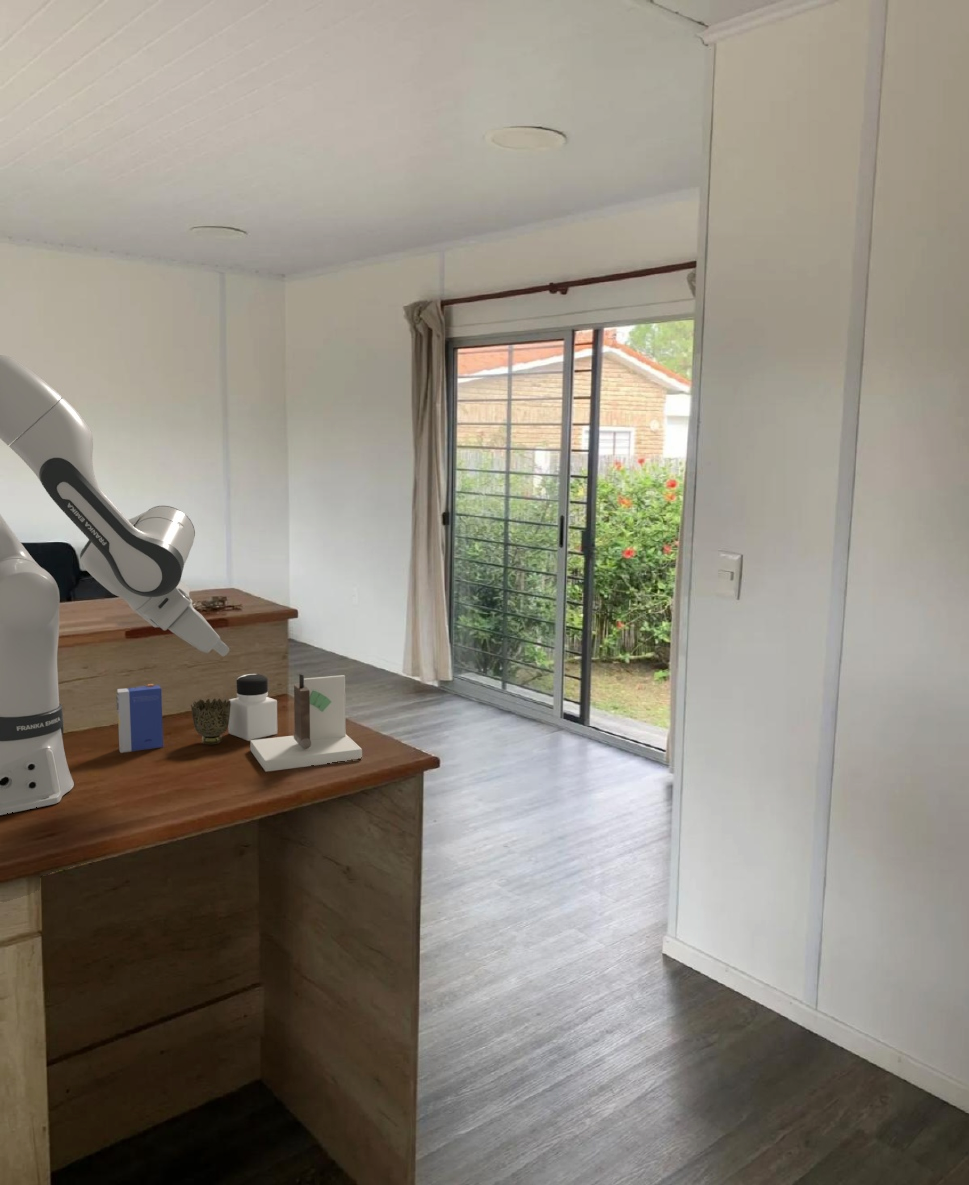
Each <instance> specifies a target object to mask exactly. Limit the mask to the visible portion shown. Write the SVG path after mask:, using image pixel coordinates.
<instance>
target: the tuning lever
mask: <svg viewBox="0 0 969 1185" xmlns="http://www.w3.org/2000/svg"><path fill="white" fill-rule="evenodd" d="M298 677H299V684H294V685H293V693H294V694H293V697H294V698H293V704H294V707H293V708H294V715H293V716H294V733H293V735H294V739H295V740H296V742H297V743H298V744H299V745H300V746H301V747H302V748H303V749H308V748H309V747H310V746H311V741H310V690H309V689H307V688H306V687H305V686H304V679H305V674H304V673H299V674H298Z"/></svg>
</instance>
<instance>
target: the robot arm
mask: <svg viewBox="0 0 969 1185" xmlns="http://www.w3.org/2000/svg"><path fill="white" fill-rule="evenodd" d="M0 440H1V441H3V443H4V444H6V446H8V447H9V449H11V450H12V451H13V452H14V453H15V454H17V456H18V457H19V458H20V459H21V460H22V461H23V462H24V463H25V464H26V465H27V466H28V467H29V469H31V471H32V472H33V473H34V475H35V476H36V477H37V479H38V480H39V481H40V483H41V485H42V487H43V488H44V489H45V491H46V493H47V494H48V495H49V497H50V498H51V500H53V502H54V503H55V504H56V505H57V506H58V508H59V509H61V511H62V512H63V513H64V514H65V515H66V516H67V517H68V518H69V520H70V521H71V522H73V523H72V524H74V525H75V526H76V527H77V528H78V529H79V530H80V531H81V533H83V534H84V536H86V538H87V539H88V540H87V542H86V544H85V545H84V547H83V548H82V549H81V551H80V554H79V557H80V558H79V561H80V563H81V565H82V566H83V568H84V569H85V571H87V573H89V574H90V576H91V577H92V578H94V580H96V581H97V582H98V583H99V584H100V585H101V586H103V587H104V588H105V589H106V590H107V591H108V592H109V593H111V594H112V595H115V596H117V597H118V598H120V599H122V600H123V601H125V602H126V603H127V605H128V606H129V608H130V609H131V610H132V611H133V612H135V613H136V614H137V615H139V617H141V618H142V619H143V620H144V621H146V622H148V624H149V625H151V626H152V627H153V628H160V629H161V630H162V631H167V630H169V631H170V632H171V633H173V634H174V635H176V636H177V637H179V638H180V639H182V641H185V642H186V643H188V644H189V645H191V646H192V647H194V648H195V649H197V650H199V651H200V652H203V653H204V654H208V653H210V652H211V650H213V651H215V652H216V653H217V654H219V655H220V656H222V657H225V656H226V655H228V654H229V652H230V648H229V646H228V645H227V644H226V643H224V641H222V639H221V636H220V635H219V634H218V633H217V632H216V631H215V629H214V628H213V627H212V625H211V624H210V623H209V622H208V621H207V620H206V618H205V617H204V616H203V615H202V614H201V613H200V612H199V611H197V609H196V608H194V605H193V599H192V598H190V593H191V588H190V587H189V586H187V585H186V584H185V583H184V582H183V581H181V580H182V575H183V571H184V566H185V563H186V562H187V560H188V558H189V555H190V552H191V550H192V547H193V544H194V541H195V538H196V537H195V536H196V532H195V530H196V529H195V527H194V524H193V522H192V521H191V518H189V516H188V515H186V513H184V512H183V511H181V510H180V509H177V508H175V507H172V506H170V505H157V506H153V507H150V508H149V509H148V510H147V511H145V512H143V513H141V514H139V515H137V516H134V517H131V518H130V519H127V517H126V515H124V514H123V512H121V511H120V510H119V509H118V508H117V506H116V505H115V504H114V503H113V502H112V501H111V500H110V498H108V496H106V494H105V493H104V492H103V491H102V489H101V487H100V486H99V484H98V482H97V479H96V477H95V472H94V466H93V450H94V441H93V440H94V439H93V434H92V430H91V428H90V427H89V425H88V424H87V422H86V421H85V420H84V418H83V417H82V415H81V414H80V413H79V411H78V410H77V409H75V407H74V406H73V405H72V404H71V403H70V402H68V400H66V398H65V397H63V396H62V395H61V394H60V393H59V392H58V391H57V390H55V388H53V386H51V384H49V383H47V381H45V380H44V379H43V378H42V377H40V376H39V375H38V374H36V373H35V372H33V370H31V369H30V368H28V367H27V366H25V365H24V364H22V363H20V361H18V360H17V359H15V358H13V357H10V356H7V355H0ZM60 600H61V598H60V589H59V587H58V583H57V582H56V580H55V578H54V576H52V575H51V574H50V572H48V571H47V570H46V569H45V568H44V567H41V566H40V565H39V564H38V562H37V561H35V559H34V558H33V557H32V555H30V553H29V551H28V550H27V549H26V548H25V546H24V544H23V543H22V542H21V541H20V540H19V538H18V537H17V536H16V534H15V533H14V532H13V530H12V528H11V527H10V526H9V525H8V524H7V521H6V520H5V519H4V518H3V516H2V514H0V816H3V815H4V816H5V815H8V814H12V812H13V813H18V812H23V811H27V810H30V809H37V808H42V807H46V806H51V805H56V804H57V803H60V802H61V801H62V797H63V796H65V794H67V793H68V792H70V791H71V790H72V789H73V788H74V785H75V783H74V780H73V777H72V774H71V773H70V769H69V765H68V762H67V758H66V753H65V749H64V748H65V747H64V741H63V735H64V715H63V713H64V712H63V705H62V704H61V703H60V697H59V696H60V695H59V693H60V690H59V675H58V671H59V670H58V649H59V638H60V636H59V635H60V602H61V601H60ZM36 807H37V808H36ZM7 813H8V814H7Z"/></svg>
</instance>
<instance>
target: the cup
mask: <svg viewBox="0 0 969 1185" xmlns="http://www.w3.org/2000/svg"><path fill="white" fill-rule="evenodd" d="M228 700H229V699H228ZM228 700H227V699H224V700H223V701H222V700H221V698H218V699H217V698H213V699H212V701H211V700H210V698H208V699H206V701H204V699H203V700H202V699H198V700H197V701H194V700H193V704H190V708H191V714H192V721H193V725H194V726H193V727H194V730H195V731H196V733H197V734H198V735H200V736H202V737H201V741H202V743H203V744H205V745H213V746H214V745H217V744H219V743H221V742H222V740H223V739H222V738H223V737H222V735H224V733H225V732H227V730H228V729H229V728H228V724H229V717H230V706H231V704H230V700H229V701H228Z"/></svg>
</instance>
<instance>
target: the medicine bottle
mask: <svg viewBox="0 0 969 1185" xmlns="http://www.w3.org/2000/svg"><path fill="white" fill-rule="evenodd" d="M268 682H269V680H268V677H267V676H265V675H263V674H259V673H249V674H242V675H241V676H239V677H237V679H236V698H229V699H228V700H227V702H228V701H229V700H230V704H231V706H230V717H229V724H228V728H227V729H228V734H230V735H232V736H235V737H238V738H240V739H242V740H245V741H248V742H250V740H258V739H263V738H266V737H270V736H274V735H277V734H278V700H277V699H274V698H271V697H269V696H268V695H269V691H268V690H269V685H268Z"/></svg>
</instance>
